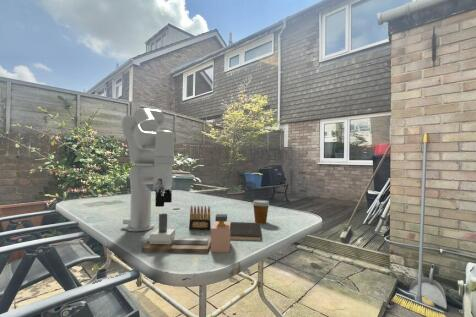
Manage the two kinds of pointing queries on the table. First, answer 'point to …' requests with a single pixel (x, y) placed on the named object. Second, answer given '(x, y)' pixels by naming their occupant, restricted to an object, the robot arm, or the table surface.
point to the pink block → (220, 237)
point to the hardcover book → (245, 231)
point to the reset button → (221, 219)
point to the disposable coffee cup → (260, 210)
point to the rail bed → (180, 246)
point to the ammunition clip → (199, 219)
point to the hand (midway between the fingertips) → (163, 204)
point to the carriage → (162, 232)
